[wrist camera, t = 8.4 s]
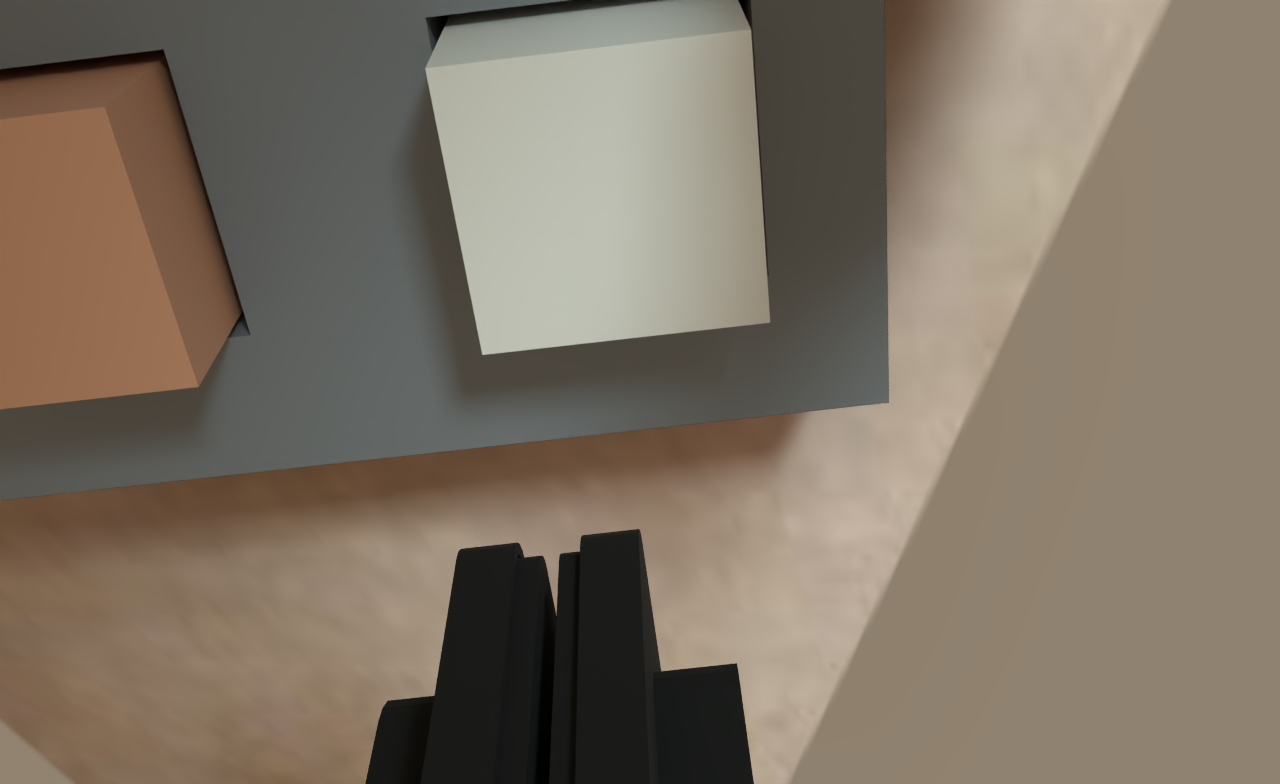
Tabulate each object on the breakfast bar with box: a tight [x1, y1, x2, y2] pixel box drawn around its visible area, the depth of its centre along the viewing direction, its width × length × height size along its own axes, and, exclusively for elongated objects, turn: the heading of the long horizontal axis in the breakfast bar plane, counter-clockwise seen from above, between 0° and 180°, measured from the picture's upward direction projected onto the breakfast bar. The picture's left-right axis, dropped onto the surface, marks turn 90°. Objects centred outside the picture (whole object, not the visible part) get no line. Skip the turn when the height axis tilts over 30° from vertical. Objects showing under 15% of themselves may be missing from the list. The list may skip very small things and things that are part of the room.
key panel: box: [0, 0, 889, 500], centre depth 29 cm, size 14×24×5 cm, turn 96°
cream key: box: [425, 0, 770, 355], centre depth 26 cm, size 6×6×5 cm
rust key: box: [0, 49, 243, 409], centre depth 26 cm, size 6×6×5 cm
